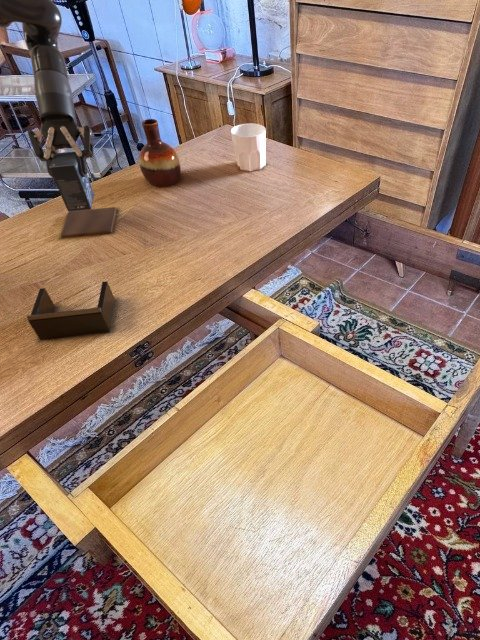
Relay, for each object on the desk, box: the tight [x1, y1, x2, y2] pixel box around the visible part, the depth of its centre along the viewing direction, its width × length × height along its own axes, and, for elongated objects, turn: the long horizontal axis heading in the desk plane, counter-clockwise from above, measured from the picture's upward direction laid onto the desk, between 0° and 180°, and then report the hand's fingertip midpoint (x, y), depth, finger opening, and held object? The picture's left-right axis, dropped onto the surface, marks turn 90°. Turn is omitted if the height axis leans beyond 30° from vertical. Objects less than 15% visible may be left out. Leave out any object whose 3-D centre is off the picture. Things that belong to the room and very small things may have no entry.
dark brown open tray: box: [26, 280, 116, 341], centre depth 87 cm, size 13×10×6 cm
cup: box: [230, 123, 267, 173], centre depth 130 cm, size 10×10×10 cm
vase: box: [138, 118, 182, 188], centre depth 122 cm, size 11×11×15 cm
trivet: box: [60, 206, 117, 239], centre depth 113 cm, size 12×12×1 cm
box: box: [49, 151, 95, 213], centre depth 105 cm, size 8×6×11 cm
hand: (68, 176), depth 102 cm, fingers closed on box, 5 cm apart
